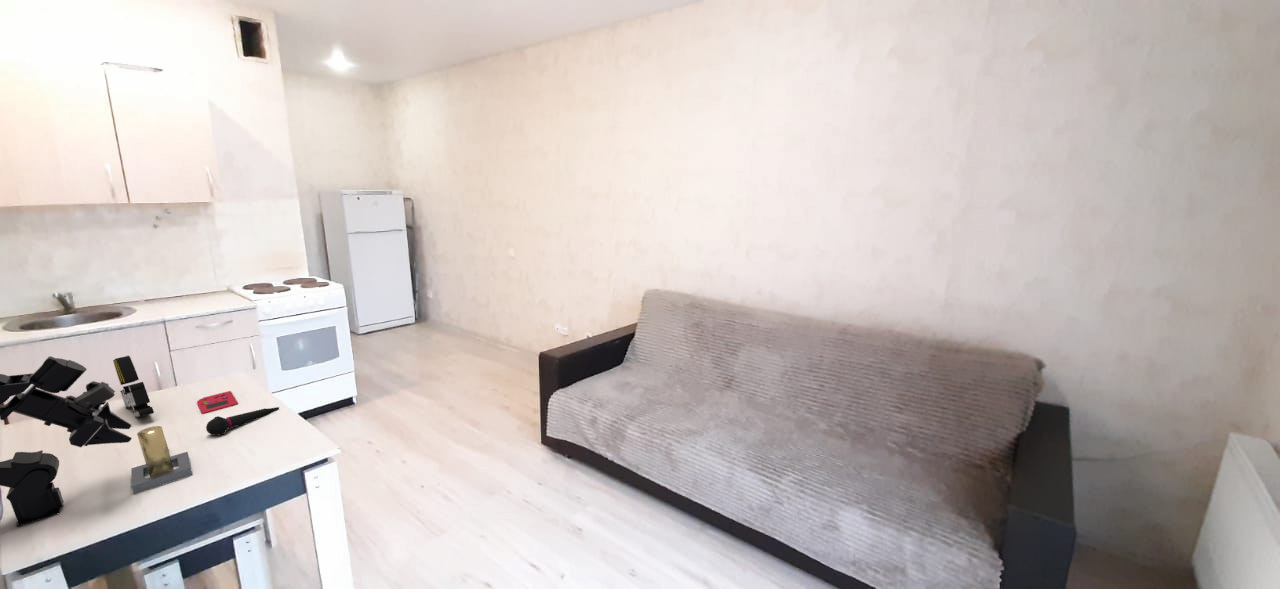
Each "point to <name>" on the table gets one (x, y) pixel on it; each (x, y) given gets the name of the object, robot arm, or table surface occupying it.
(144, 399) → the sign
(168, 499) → the table surface
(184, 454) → the frame
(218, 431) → the microphone
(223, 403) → the handheld gaming console
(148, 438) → the ball
